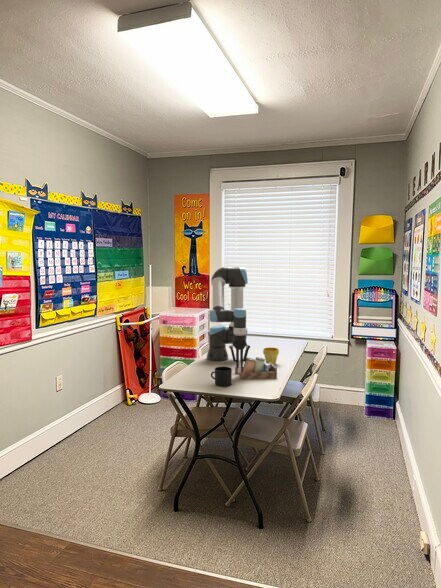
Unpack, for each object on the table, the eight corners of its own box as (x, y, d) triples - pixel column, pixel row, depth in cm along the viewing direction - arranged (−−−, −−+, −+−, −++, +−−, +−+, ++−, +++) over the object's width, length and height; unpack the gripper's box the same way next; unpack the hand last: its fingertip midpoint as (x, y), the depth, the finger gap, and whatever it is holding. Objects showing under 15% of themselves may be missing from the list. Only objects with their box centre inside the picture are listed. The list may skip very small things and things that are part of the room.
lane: (239, 379, 237) (239, 369, 237) (235, 372, 251) (235, 363, 251) (276, 377, 240) (276, 367, 240) (270, 371, 255) (270, 361, 254)
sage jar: (253, 374, 243) (256, 358, 242) (251, 371, 249) (254, 356, 248) (262, 376, 244) (266, 360, 243) (260, 373, 250) (263, 358, 249)
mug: (213, 380, 235) (213, 365, 234) (233, 382, 231) (233, 367, 231) (208, 385, 226) (208, 369, 226) (228, 387, 222) (228, 371, 222)
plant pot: (266, 365, 268) (266, 351, 267) (260, 361, 278) (261, 347, 277) (281, 364, 270) (281, 350, 270) (274, 360, 280) (275, 346, 279)
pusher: (266, 377, 241) (266, 365, 241) (261, 371, 252) (262, 360, 252) (272, 376, 242) (272, 365, 241) (267, 371, 253) (267, 360, 252)
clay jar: (253, 376, 243) (256, 361, 242) (243, 375, 242) (247, 359, 241) (250, 373, 249) (254, 358, 248) (241, 372, 247) (244, 356, 247)
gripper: (230, 335, 238) (229, 375, 239) (251, 335, 239) (251, 374, 241) (228, 333, 245) (227, 371, 247) (249, 333, 247) (248, 371, 249)
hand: (239, 372), depth 244 cm, fingers closed
